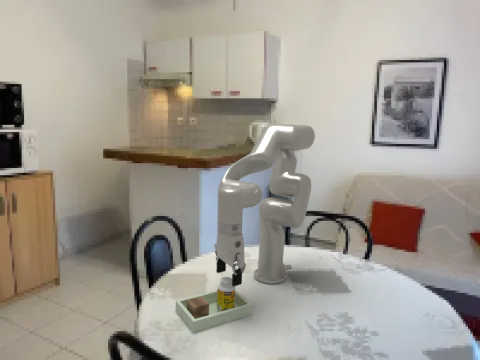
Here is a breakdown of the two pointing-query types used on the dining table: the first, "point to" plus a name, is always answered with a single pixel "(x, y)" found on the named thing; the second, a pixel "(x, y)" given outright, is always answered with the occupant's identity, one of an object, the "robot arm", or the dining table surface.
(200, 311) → the walnut block
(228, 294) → the supplement bottle
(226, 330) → the dining table surface
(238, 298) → the tote
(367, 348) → the dining table surface
